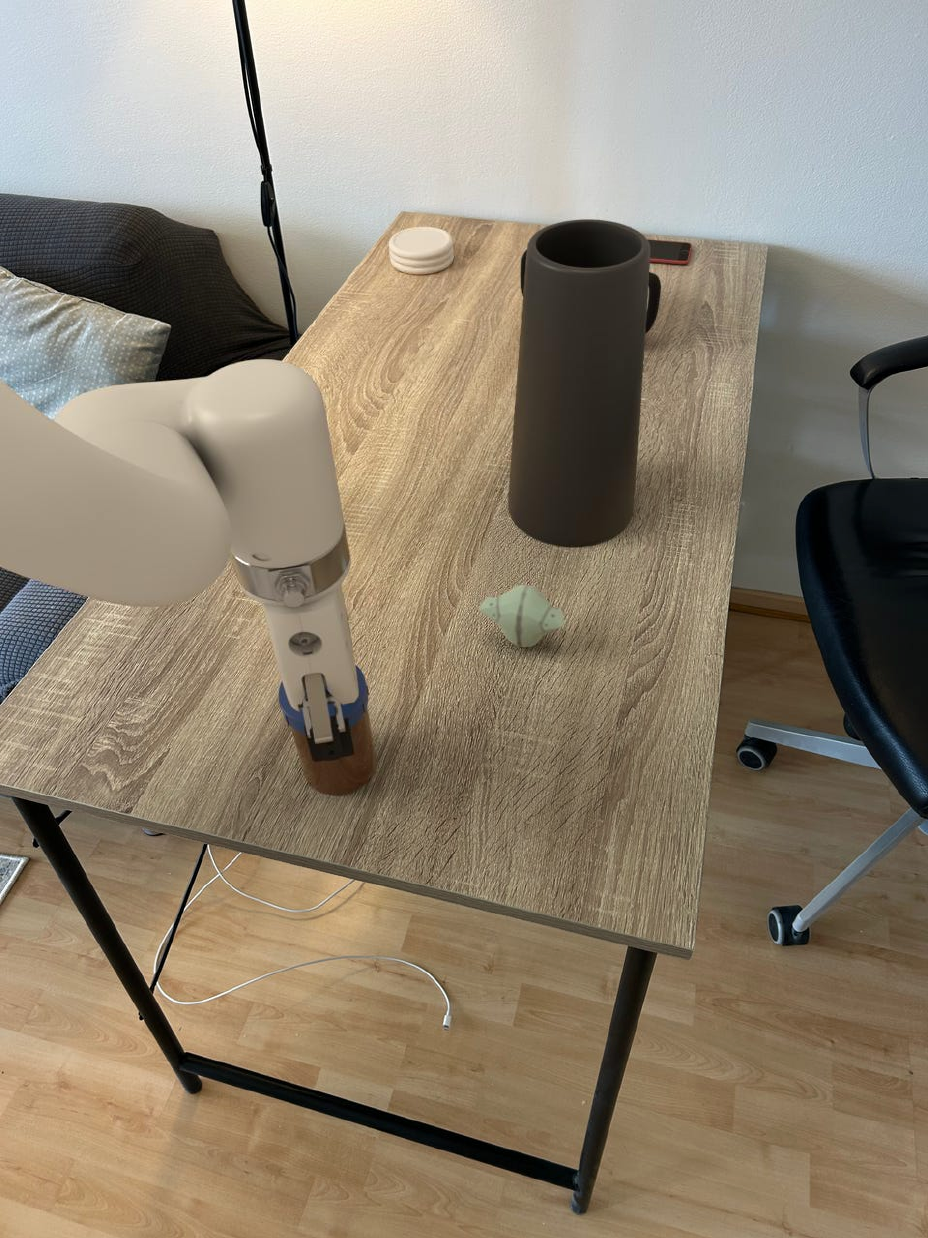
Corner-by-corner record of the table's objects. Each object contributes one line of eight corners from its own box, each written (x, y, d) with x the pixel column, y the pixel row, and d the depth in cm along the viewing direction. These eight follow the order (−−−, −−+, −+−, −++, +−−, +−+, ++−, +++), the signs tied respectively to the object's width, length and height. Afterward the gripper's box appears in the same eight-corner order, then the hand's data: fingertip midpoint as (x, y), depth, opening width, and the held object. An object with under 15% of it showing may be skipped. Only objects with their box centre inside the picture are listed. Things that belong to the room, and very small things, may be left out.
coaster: (463, 252, 142) (463, 229, 139) (438, 280, 136) (437, 257, 133) (406, 243, 145) (405, 221, 142) (379, 270, 138) (377, 247, 136)
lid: (321, 657, 73) (318, 643, 72) (385, 692, 70) (383, 678, 69) (264, 712, 69) (260, 698, 68) (330, 751, 66) (326, 738, 65)
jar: (345, 808, 73) (329, 739, 66) (288, 773, 75) (266, 704, 68) (391, 754, 76) (380, 684, 69) (335, 723, 79) (318, 652, 72)
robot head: (476, 650, 84) (474, 599, 79) (488, 619, 87) (487, 568, 82) (560, 666, 82) (563, 616, 77) (569, 634, 85) (573, 583, 80)
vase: (488, 527, 96) (484, 264, 75) (534, 456, 104) (542, 201, 83) (611, 560, 92) (642, 291, 71) (648, 483, 100) (687, 222, 79)
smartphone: (688, 262, 135) (596, 254, 138) (688, 265, 136) (596, 257, 139) (693, 242, 140) (603, 234, 143) (692, 245, 140) (603, 238, 143)
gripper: (363, 637, 53) (391, 802, 65) (334, 463, 64) (363, 631, 77) (234, 658, 52) (288, 821, 65) (229, 478, 63) (276, 646, 76)
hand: (328, 716), depth 71 cm, fingers closed on lid, 6 cm apart
